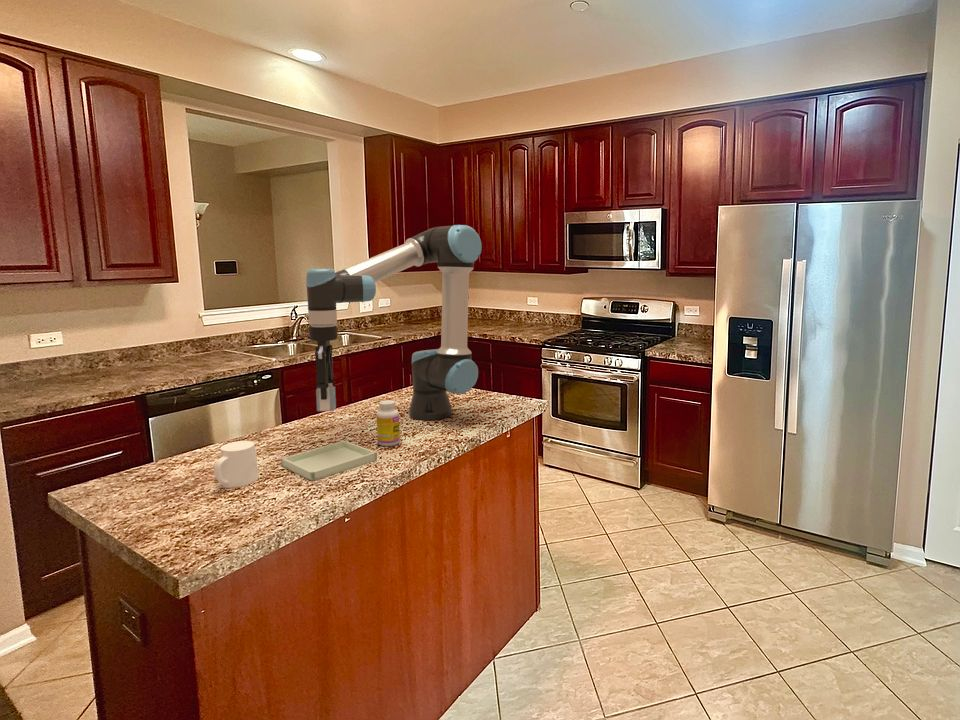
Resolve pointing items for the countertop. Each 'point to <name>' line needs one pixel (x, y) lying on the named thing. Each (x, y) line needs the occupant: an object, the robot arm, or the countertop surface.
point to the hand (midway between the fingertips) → (326, 407)
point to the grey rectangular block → (332, 398)
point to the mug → (237, 464)
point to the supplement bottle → (388, 424)
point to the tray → (328, 460)
